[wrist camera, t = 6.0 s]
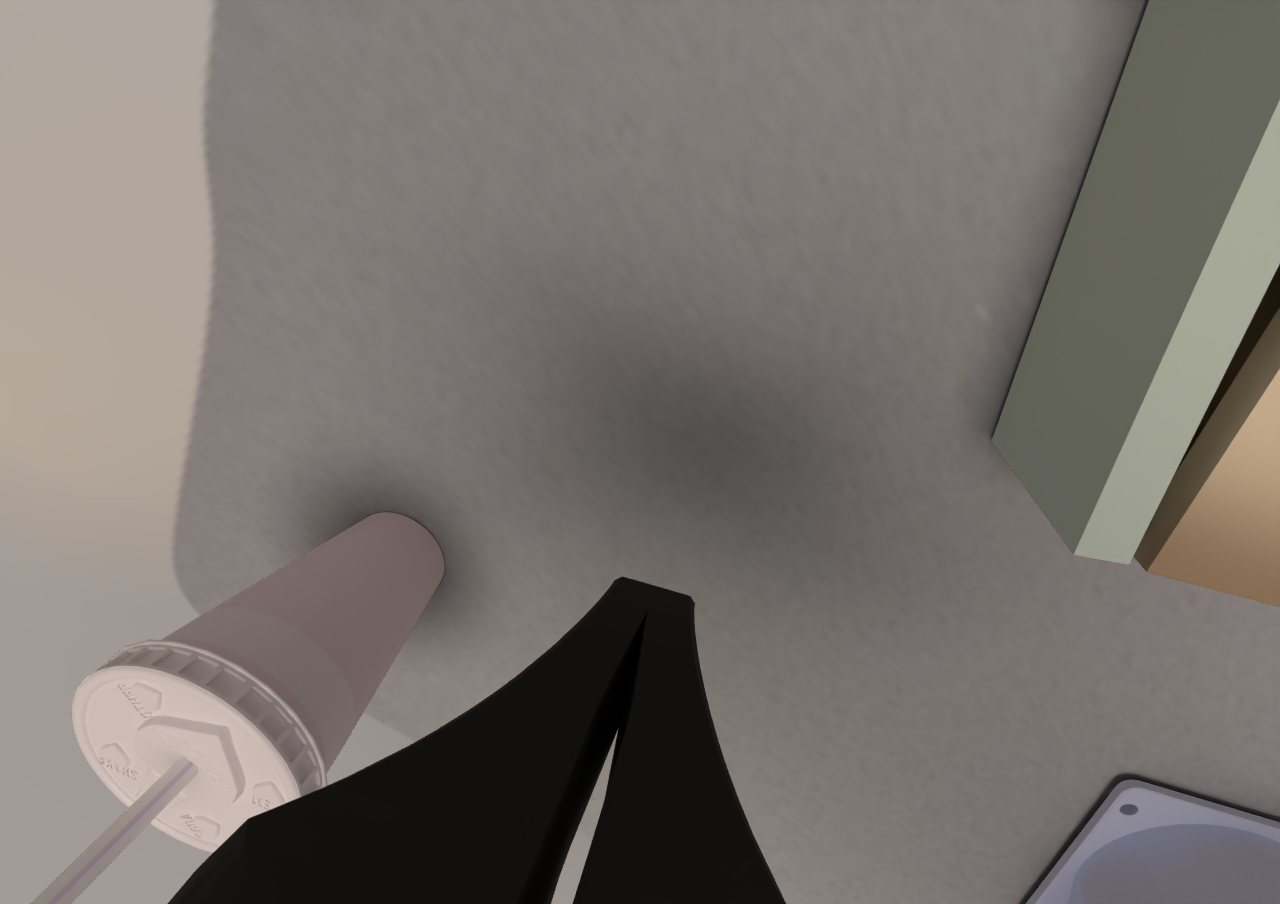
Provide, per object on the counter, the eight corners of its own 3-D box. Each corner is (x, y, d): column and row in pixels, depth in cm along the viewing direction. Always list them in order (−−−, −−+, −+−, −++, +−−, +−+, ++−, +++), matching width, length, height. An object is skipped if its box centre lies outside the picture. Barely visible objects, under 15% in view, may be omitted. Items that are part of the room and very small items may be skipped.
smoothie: (512, 570, 23) (195, 1033, 11) (415, 650, 26) (71, 1096, 14) (379, 444, 22) (-137, 796, 10) (292, 541, 25) (-199, 915, 13)
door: (1030, 447, 18) (1128, 565, 13) (957, 435, 18) (1024, 545, 13) (1244, -108, 13) (1559, -296, 7) (1138, -113, 13) (1370, -295, 8)
